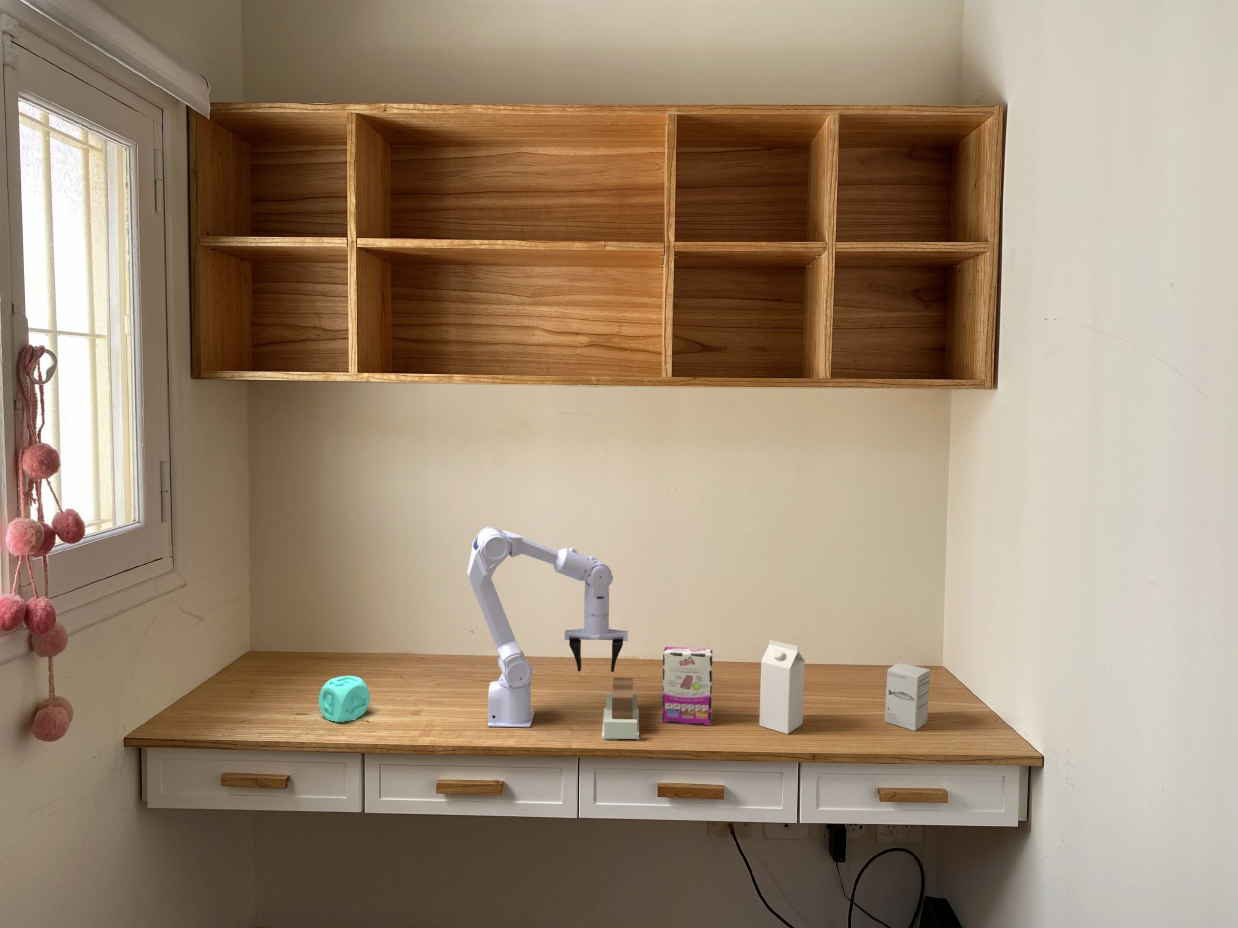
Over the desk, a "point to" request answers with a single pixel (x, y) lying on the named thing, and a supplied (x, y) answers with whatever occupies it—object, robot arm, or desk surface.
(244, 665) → the desk surface
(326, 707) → the decorative dice
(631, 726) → the peg frame
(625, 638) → the robot arm
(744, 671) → the desk surface
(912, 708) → the supplement box
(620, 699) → the brown rectangular block
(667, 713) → the candy bar box
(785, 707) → the milk carton
